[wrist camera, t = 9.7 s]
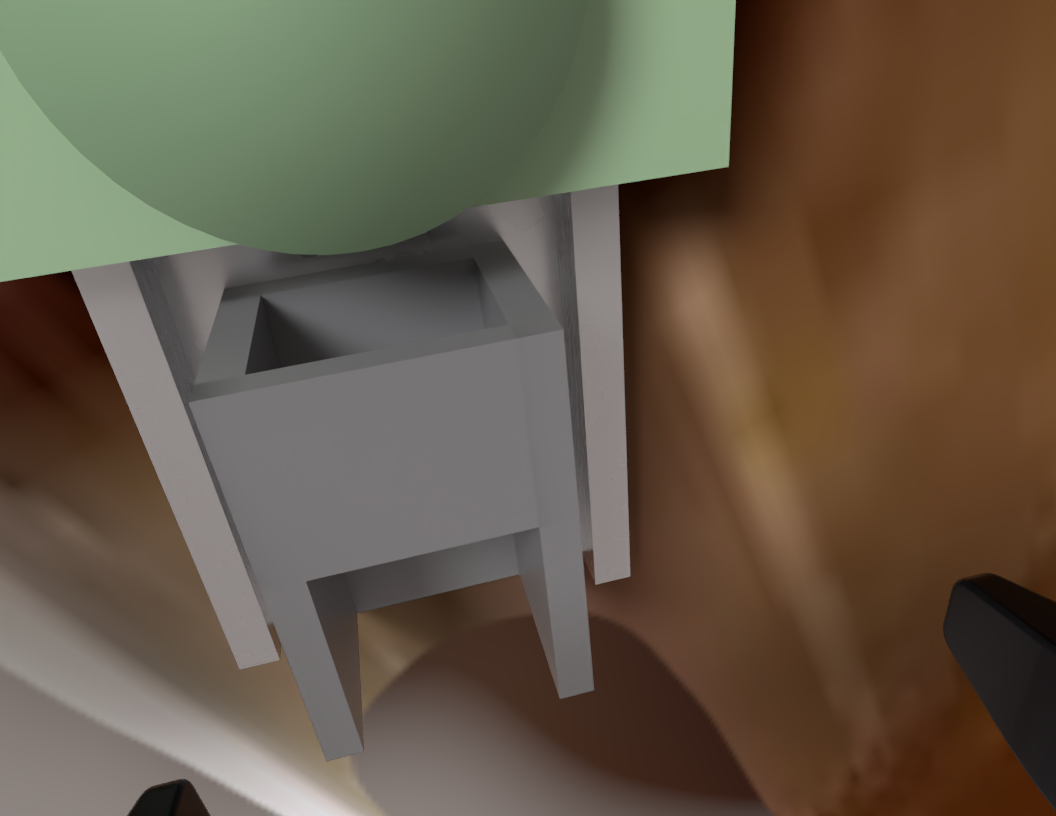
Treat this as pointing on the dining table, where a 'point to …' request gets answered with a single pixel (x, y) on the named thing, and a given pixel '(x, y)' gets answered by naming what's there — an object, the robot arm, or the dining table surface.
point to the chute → (395, 456)
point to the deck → (343, 188)
